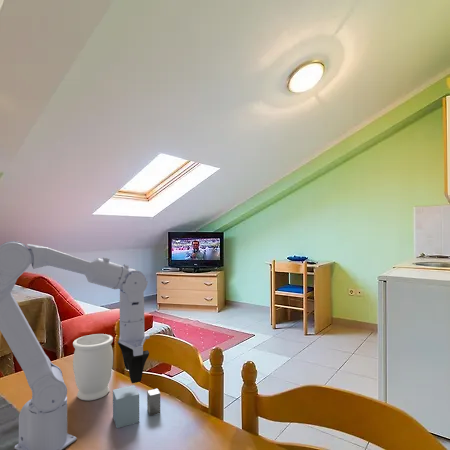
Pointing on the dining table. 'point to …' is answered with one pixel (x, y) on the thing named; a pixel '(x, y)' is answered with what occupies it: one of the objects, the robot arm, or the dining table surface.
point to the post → (153, 402)
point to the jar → (93, 365)
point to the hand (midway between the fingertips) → (133, 375)
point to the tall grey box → (125, 406)
